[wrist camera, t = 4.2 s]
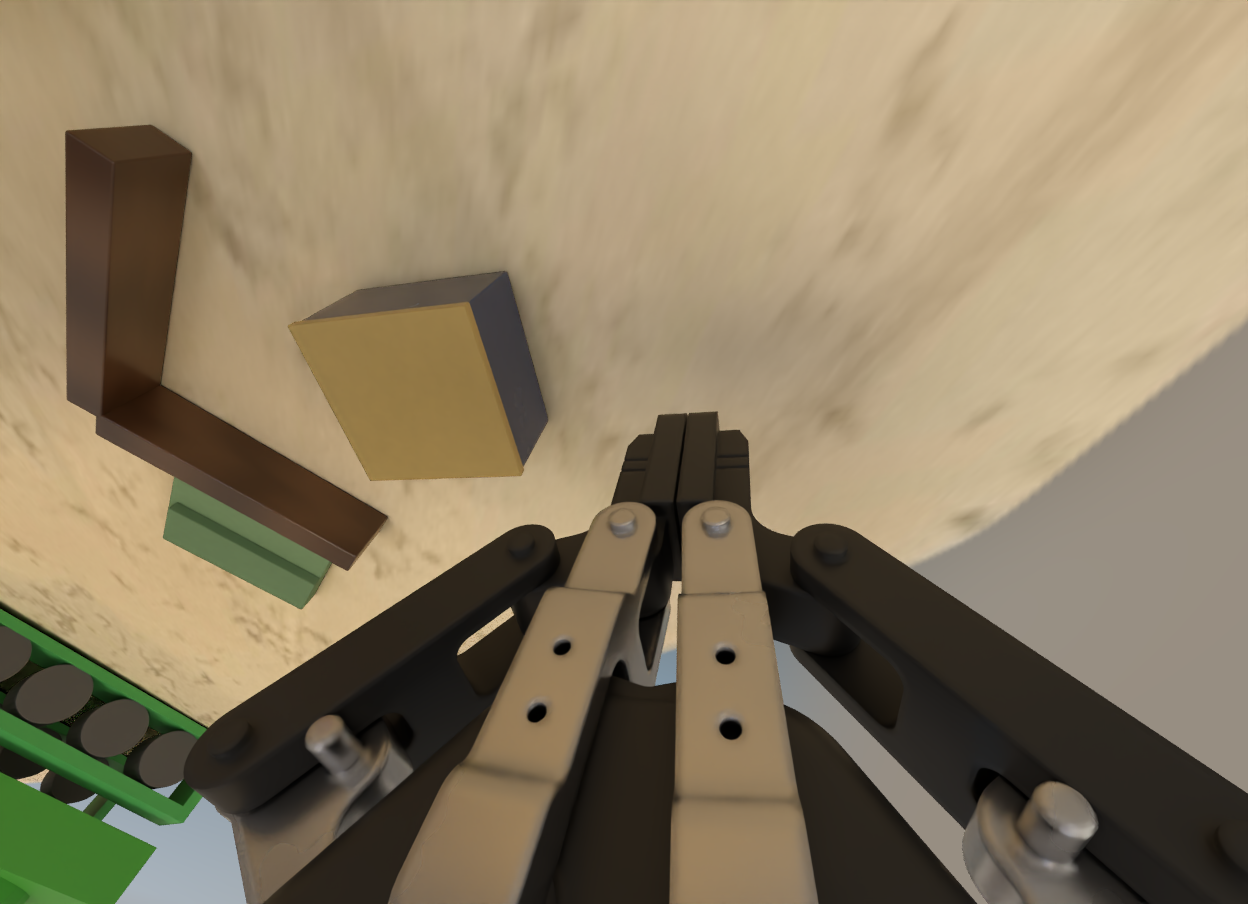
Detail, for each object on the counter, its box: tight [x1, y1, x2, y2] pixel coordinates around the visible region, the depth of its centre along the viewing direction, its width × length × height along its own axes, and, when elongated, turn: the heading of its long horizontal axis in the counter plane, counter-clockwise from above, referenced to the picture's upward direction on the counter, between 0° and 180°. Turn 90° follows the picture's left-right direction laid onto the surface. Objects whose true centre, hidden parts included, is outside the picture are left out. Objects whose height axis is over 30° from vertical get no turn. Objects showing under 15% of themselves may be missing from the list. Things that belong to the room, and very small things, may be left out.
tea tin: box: [288, 271, 548, 481], centre depth 20 cm, size 7×7×4 cm
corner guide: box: [65, 125, 387, 571], centre depth 23 cm, size 10×19×3 cm, turn 9°
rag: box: [163, 477, 332, 609], centre depth 30 cm, size 9×7×1 cm
